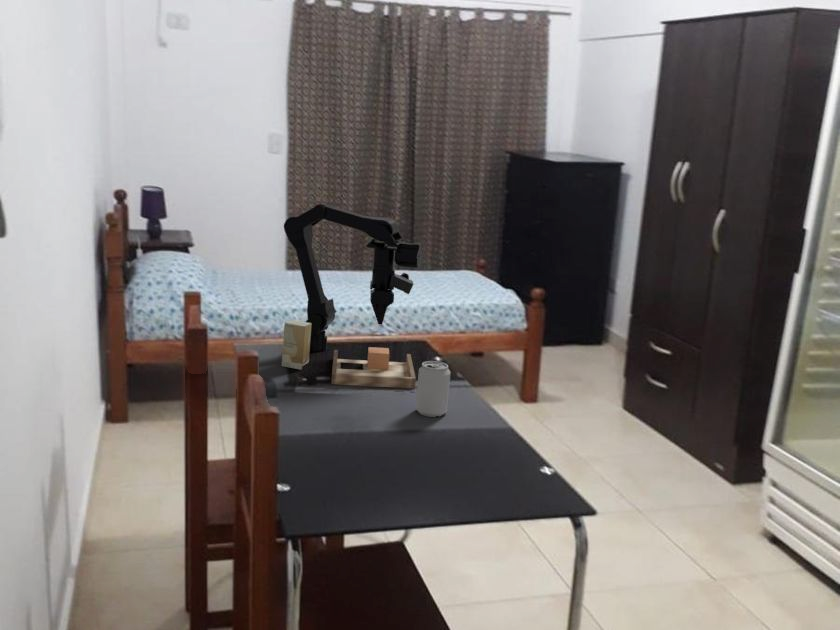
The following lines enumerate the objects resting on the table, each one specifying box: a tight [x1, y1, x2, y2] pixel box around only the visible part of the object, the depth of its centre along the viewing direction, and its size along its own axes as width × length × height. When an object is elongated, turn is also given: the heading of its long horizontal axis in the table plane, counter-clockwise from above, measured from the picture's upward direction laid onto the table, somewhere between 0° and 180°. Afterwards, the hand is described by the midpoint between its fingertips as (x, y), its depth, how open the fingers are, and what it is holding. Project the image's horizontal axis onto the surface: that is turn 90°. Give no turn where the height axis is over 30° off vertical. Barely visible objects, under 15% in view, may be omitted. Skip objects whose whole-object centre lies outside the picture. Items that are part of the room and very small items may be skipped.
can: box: [415, 360, 451, 418], centre depth 201 cm, size 8×8×12 cm
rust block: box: [367, 346, 390, 370], centre depth 231 cm, size 6×6×4 cm
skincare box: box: [281, 319, 312, 371], centre depth 228 cm, size 6×4×12 cm
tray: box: [330, 349, 417, 393], centre depth 225 cm, size 21×22×4 cm
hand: (379, 320), depth 236 cm, fingers open, 8 cm apart
